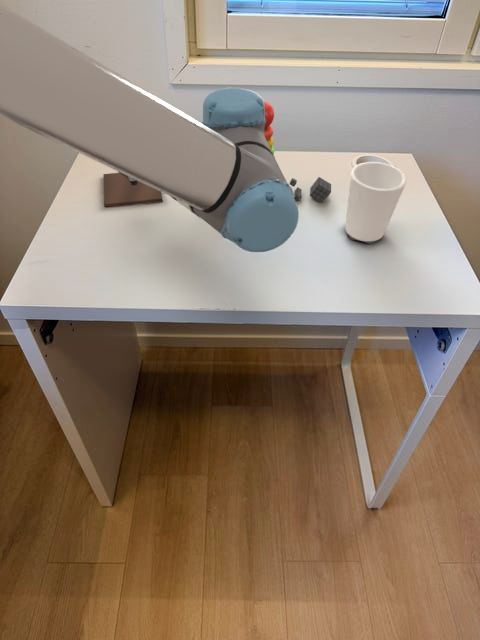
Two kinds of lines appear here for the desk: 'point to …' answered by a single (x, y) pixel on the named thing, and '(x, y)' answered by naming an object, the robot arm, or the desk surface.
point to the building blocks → (314, 190)
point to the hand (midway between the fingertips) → (111, 126)
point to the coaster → (127, 191)
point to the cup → (372, 199)
